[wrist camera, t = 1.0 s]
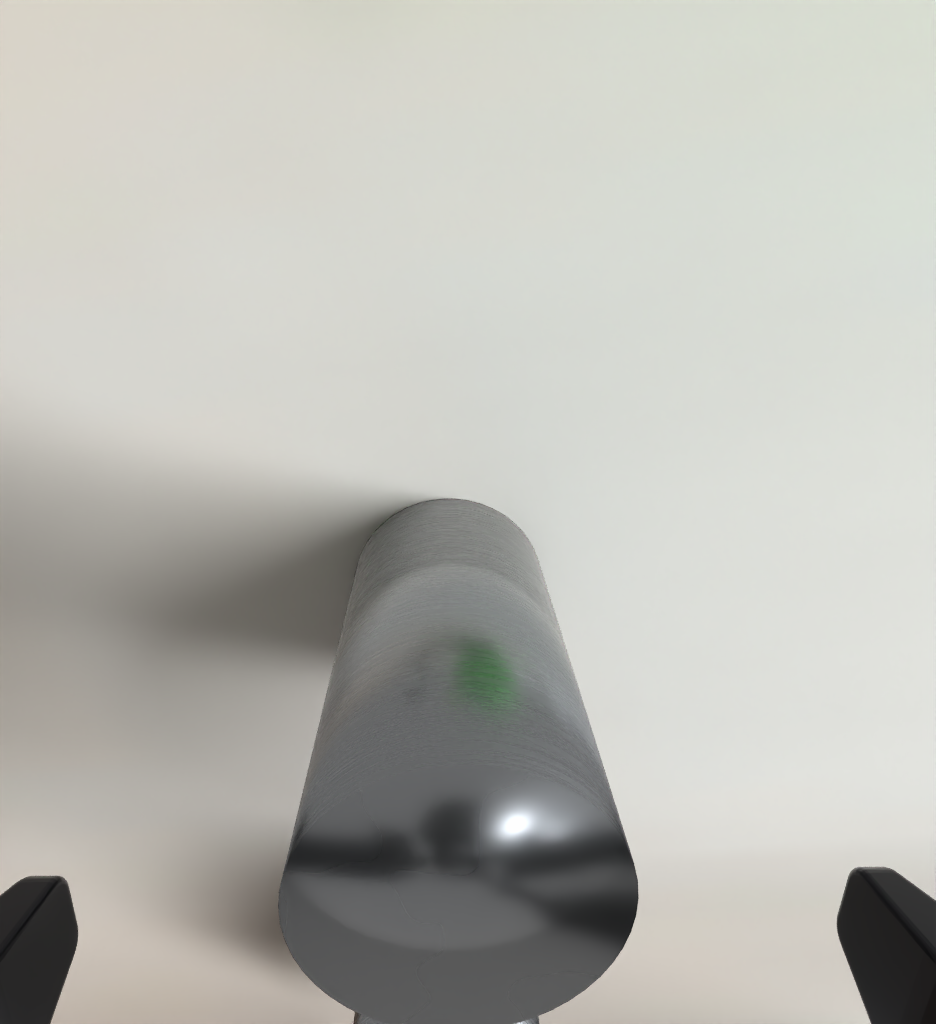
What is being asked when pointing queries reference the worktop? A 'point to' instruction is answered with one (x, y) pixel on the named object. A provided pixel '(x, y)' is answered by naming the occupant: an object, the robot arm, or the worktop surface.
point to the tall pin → (454, 791)
